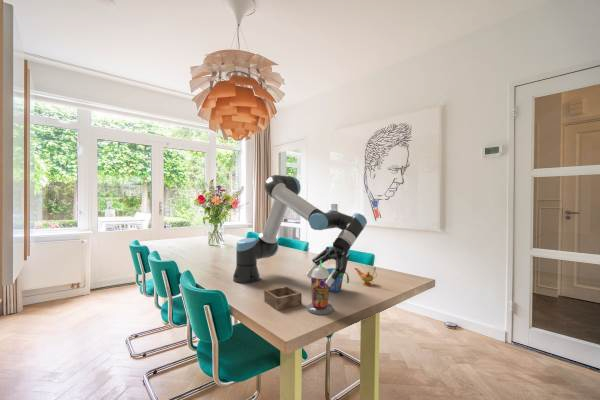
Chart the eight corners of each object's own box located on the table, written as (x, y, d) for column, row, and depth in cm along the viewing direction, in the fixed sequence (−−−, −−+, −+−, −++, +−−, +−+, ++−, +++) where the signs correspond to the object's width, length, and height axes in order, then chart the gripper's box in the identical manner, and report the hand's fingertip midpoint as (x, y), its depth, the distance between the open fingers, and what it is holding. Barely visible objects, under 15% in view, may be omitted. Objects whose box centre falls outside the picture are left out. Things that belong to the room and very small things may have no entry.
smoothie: (316, 312, 114) (317, 263, 114) (306, 305, 121) (307, 259, 121) (333, 308, 118) (334, 261, 117) (322, 301, 125) (323, 257, 125)
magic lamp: (359, 278, 166) (359, 260, 166) (381, 287, 150) (381, 266, 150) (349, 280, 163) (350, 261, 162) (371, 289, 147) (371, 268, 147)
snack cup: (319, 293, 140) (319, 273, 140) (318, 286, 150) (318, 267, 150) (350, 293, 139) (350, 273, 139) (347, 287, 150) (347, 268, 150)
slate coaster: (306, 314, 114) (306, 311, 114) (307, 304, 125) (307, 301, 125) (333, 315, 113) (333, 312, 113) (332, 305, 124) (332, 302, 124)
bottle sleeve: (277, 310, 118) (277, 298, 118) (264, 301, 128) (264, 290, 128) (301, 304, 125) (301, 293, 125) (287, 296, 135) (287, 285, 135)
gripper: (368, 252, 118) (341, 294, 109) (330, 243, 138) (305, 278, 130) (359, 240, 115) (331, 282, 106) (322, 233, 135) (296, 268, 127)
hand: (317, 280), depth 118 cm, fingers open, 13 cm apart
